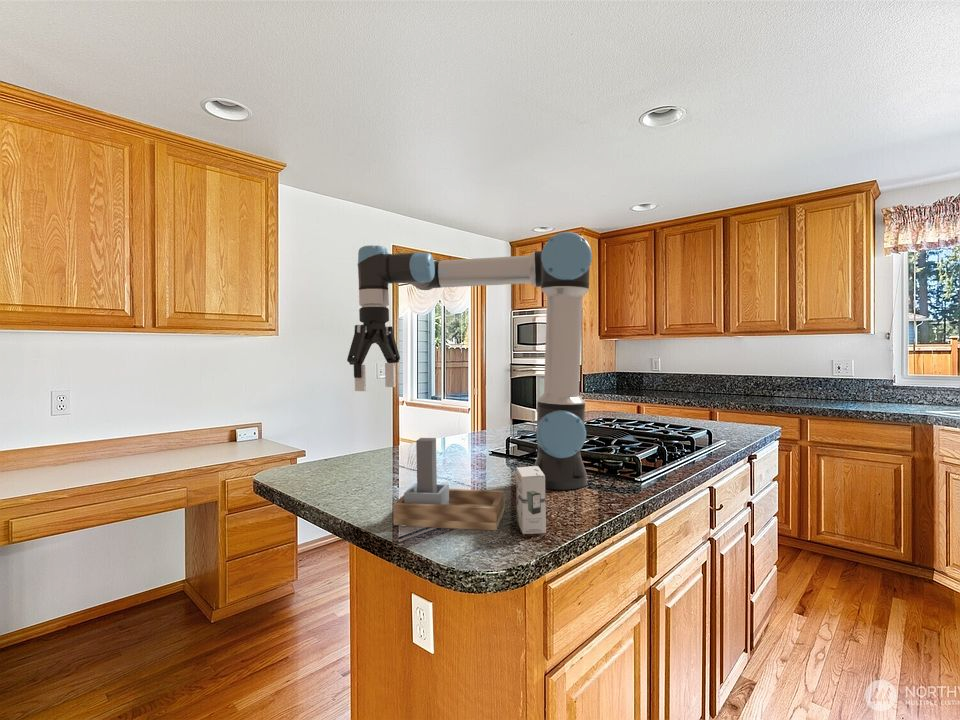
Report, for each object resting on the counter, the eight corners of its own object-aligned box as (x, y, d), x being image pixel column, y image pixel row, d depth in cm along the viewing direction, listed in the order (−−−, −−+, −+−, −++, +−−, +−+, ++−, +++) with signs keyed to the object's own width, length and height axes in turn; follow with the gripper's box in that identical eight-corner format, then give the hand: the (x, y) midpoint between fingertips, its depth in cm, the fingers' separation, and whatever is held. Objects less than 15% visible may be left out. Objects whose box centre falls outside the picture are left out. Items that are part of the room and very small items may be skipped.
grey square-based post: (449, 503, 115) (448, 436, 115) (440, 514, 107) (439, 442, 107) (415, 502, 116) (414, 435, 116) (404, 513, 108) (403, 442, 108)
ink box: (515, 520, 108) (515, 465, 108) (538, 519, 109) (537, 465, 109) (522, 534, 100) (521, 475, 100) (546, 533, 100) (546, 474, 100)
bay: (504, 510, 115) (504, 490, 115) (496, 530, 102) (496, 508, 102) (412, 506, 119) (412, 487, 119) (393, 525, 106) (393, 504, 106)
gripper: (388, 310, 143) (390, 385, 143) (330, 304, 120) (333, 392, 120) (411, 309, 140) (413, 385, 140) (356, 302, 117) (359, 393, 117)
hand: (376, 389), depth 130 cm, fingers open, 13 cm apart
